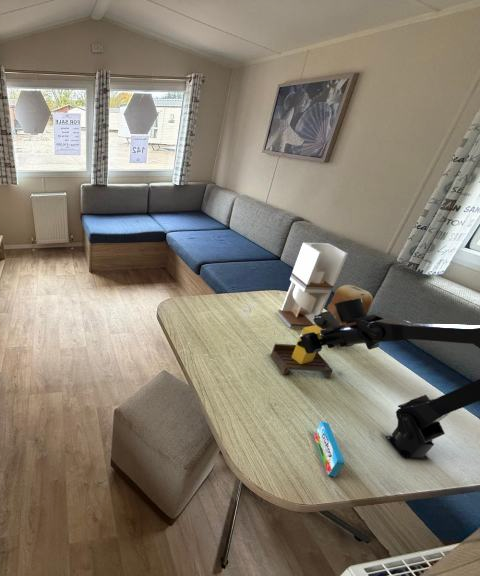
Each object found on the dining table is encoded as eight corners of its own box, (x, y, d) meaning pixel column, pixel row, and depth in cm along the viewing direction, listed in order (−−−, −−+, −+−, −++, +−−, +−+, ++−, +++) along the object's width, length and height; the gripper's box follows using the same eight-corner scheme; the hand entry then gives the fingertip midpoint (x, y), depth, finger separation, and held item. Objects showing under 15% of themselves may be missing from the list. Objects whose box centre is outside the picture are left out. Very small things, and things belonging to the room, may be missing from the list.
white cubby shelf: (277, 313, 144) (303, 242, 127) (300, 314, 144) (329, 243, 127) (289, 327, 134) (319, 252, 117) (314, 328, 133) (347, 253, 117)
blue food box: (334, 477, 76) (344, 462, 74) (328, 475, 77) (337, 460, 74) (319, 436, 87) (327, 421, 84) (313, 435, 87) (321, 420, 84)
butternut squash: (347, 338, 128) (375, 285, 116) (356, 357, 117) (387, 301, 105) (309, 329, 133) (331, 277, 121) (314, 347, 122) (339, 292, 110)
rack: (329, 378, 107) (336, 365, 104) (282, 374, 108) (287, 361, 105) (313, 358, 116) (319, 346, 113) (270, 356, 117) (274, 343, 114)
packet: (312, 361, 109) (326, 331, 103) (300, 364, 108) (314, 334, 102) (302, 354, 113) (315, 325, 107) (291, 357, 111) (303, 327, 105)
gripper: (359, 305, 99) (315, 316, 113) (316, 314, 93) (276, 324, 108) (374, 339, 96) (327, 346, 110) (331, 351, 90) (287, 356, 105)
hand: (304, 342), depth 108 cm, fingers open, 6 cm apart
